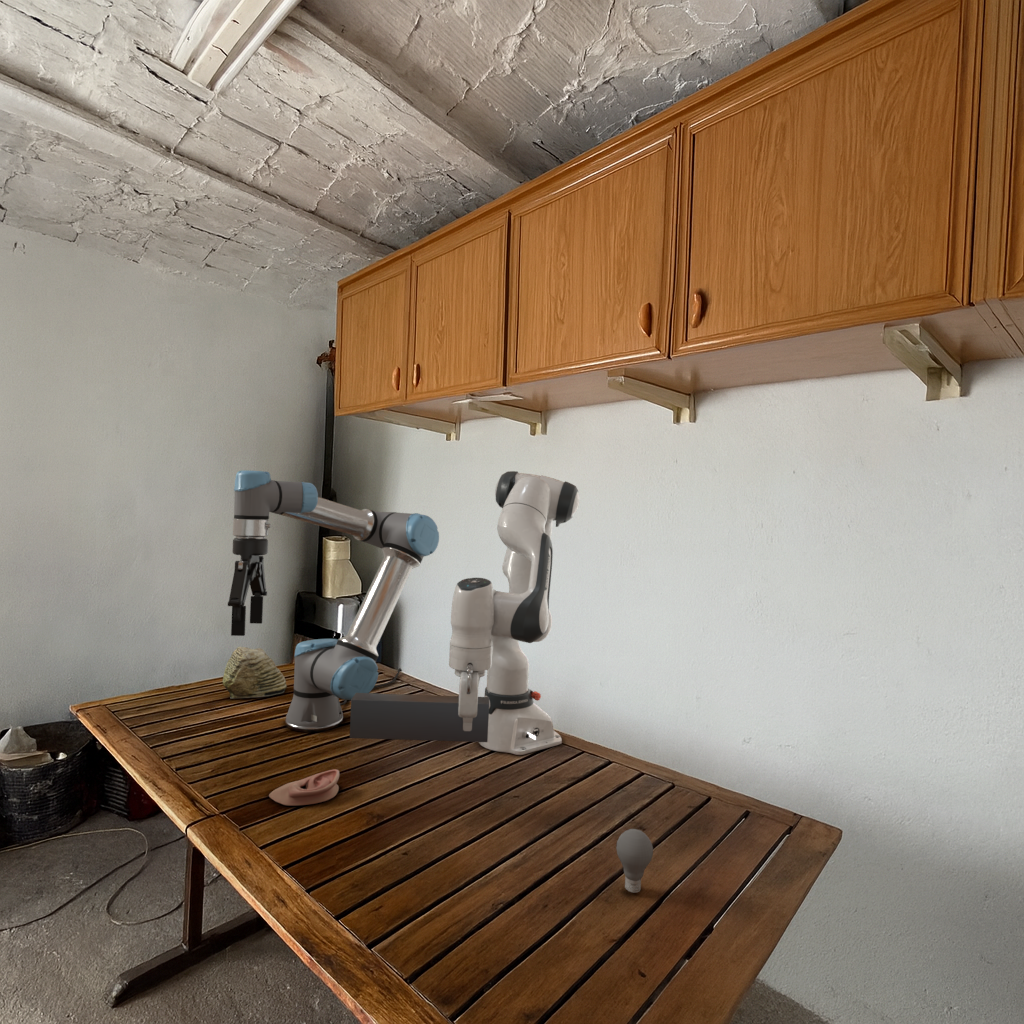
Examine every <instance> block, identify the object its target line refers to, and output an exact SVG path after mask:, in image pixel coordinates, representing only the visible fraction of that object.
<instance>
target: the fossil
mask: <svg viewBox="0 0 1024 1024" xmlns="http://www.w3.org/2000/svg"><path fill="white" fill-rule="evenodd" d="M222 676H223V677H222V685H223V687H224V688H225V690H226V691H228V693H229V698H230V699H250V698H264V697H271V696H275V695H281V694H284V693H285V691H286V689H287V687H288V686H287V680H286V678H285V676H284V674H283V673H282V672H281V669H279V668H278V667H277V665H276V663H275V662H274V660H273V659H272V658H271V657H270V656H269V655H268V654H267V653H266V652H265V650H264V649H263V648H260V647H258V648H251V647H247V646H246V647H245V646H238V647H237V648H236V649H235V650H233V651H232V653H231V656H230V657H229V659H228V660H227V663H226V666H225V668H224V671H223V675H222Z"/></svg>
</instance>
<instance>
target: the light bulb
mask: <svg viewBox="0 0 1024 1024" xmlns="http://www.w3.org/2000/svg"><path fill="white" fill-rule="evenodd" d="M615 849H616V854H617V857H618V859H619V861H620V863H621V865H622V867H623V873H624V874H623V875H624V876H625V878H624V888H625V890H627V891H628V892H630V893H634V894H635V893H639V892H640V891H641V889H642V887H641V886H642V879H643V877H644V875H645V871H646V868H647V867H648V866H649V864H650V863H651V861H652V859H653V855H654V847H653V843H652V841H651V838H649V836H648V835H647V834H646V833H645V832H643V831H642V830H641V829H636V828H629V829H627V830H625V831H623V832H622V833H621V834H620V835H619V837H618V839H617V841H616V847H615Z"/></svg>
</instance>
